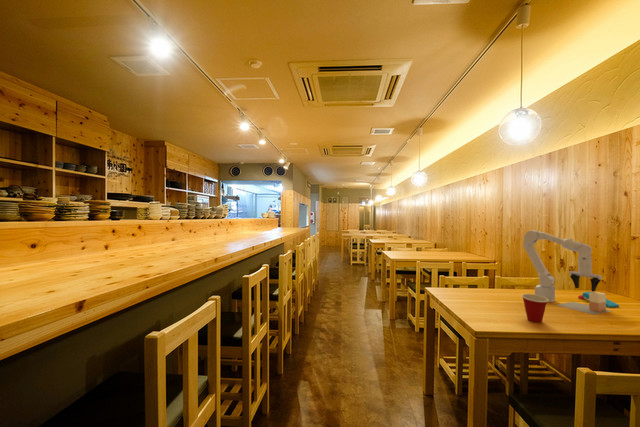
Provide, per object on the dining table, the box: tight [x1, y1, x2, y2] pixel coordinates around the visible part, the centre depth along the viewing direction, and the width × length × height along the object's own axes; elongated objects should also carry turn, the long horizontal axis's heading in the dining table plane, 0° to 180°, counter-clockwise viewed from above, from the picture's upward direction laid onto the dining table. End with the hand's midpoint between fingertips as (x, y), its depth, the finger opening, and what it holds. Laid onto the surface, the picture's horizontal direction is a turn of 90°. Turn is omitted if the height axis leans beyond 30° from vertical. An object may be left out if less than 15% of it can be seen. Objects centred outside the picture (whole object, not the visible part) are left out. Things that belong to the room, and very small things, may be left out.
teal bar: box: [577, 291, 620, 309], centre depth 172 cm, size 7×7×18 cm
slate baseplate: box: [556, 301, 611, 316], centre depth 161 cm, size 18×17×1 cm
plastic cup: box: [521, 293, 549, 324], centre depth 143 cm, size 11×11×12 cm
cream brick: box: [588, 291, 607, 303], centre depth 158 cm, size 4×7×4 cm, turn 111°
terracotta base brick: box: [588, 300, 607, 312], centre depth 158 cm, size 4×7×4 cm, turn 112°
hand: (585, 289), depth 164 cm, fingers open, 7 cm apart
